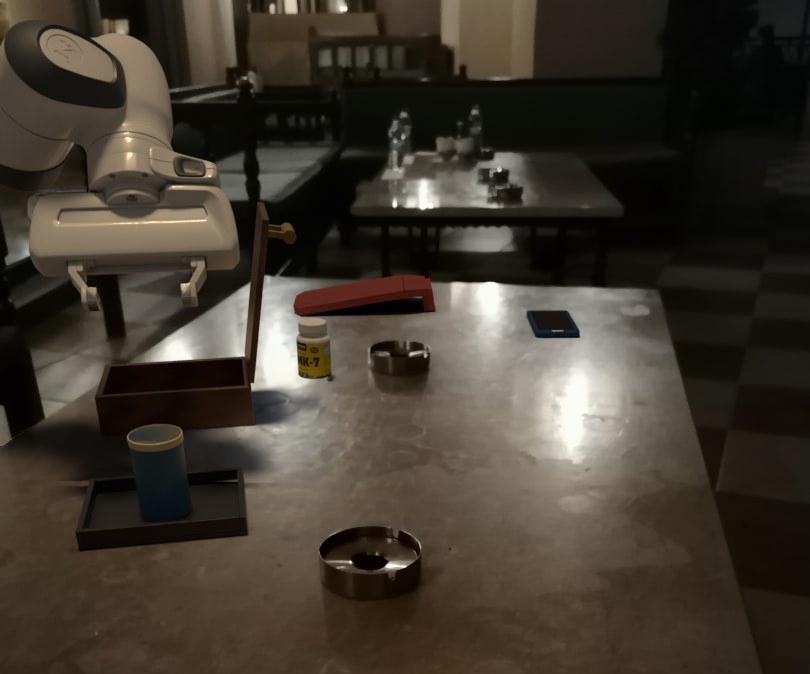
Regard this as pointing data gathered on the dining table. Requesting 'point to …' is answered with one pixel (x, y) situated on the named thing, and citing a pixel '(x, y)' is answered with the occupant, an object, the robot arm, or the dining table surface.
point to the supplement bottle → (313, 349)
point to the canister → (160, 472)
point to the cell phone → (552, 323)
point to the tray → (123, 524)
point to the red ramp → (365, 294)
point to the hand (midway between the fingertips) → (140, 306)
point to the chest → (174, 395)
